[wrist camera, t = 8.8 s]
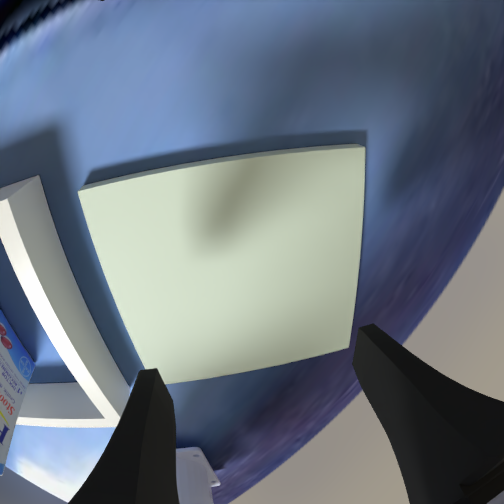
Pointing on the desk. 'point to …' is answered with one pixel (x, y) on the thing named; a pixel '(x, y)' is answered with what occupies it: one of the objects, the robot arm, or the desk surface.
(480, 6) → the desk surface
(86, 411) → the case
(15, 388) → the medicine box
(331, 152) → the sage pad
